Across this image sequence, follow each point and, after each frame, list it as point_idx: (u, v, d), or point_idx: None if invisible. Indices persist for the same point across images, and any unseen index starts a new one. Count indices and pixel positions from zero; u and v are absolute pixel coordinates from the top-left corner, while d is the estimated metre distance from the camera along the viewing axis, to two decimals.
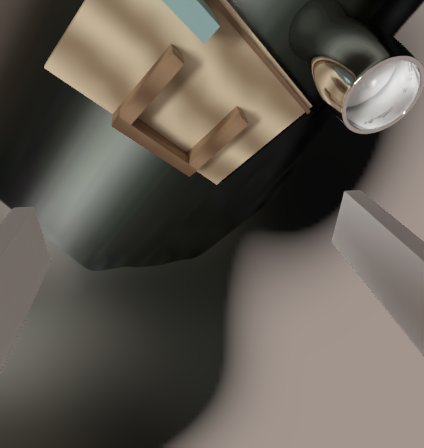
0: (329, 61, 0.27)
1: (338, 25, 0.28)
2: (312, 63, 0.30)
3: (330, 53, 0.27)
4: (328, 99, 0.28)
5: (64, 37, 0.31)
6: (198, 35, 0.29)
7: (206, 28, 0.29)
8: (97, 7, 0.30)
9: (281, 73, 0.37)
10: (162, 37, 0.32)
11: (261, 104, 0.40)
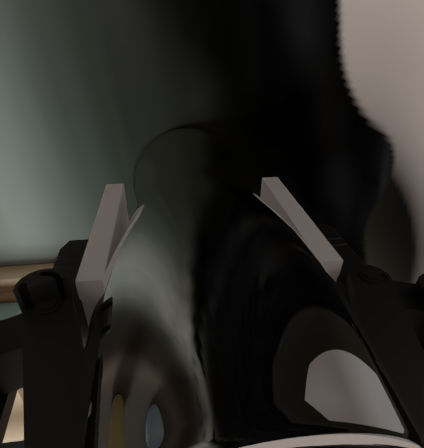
0: None
1: None
2: None
3: None
4: None
5: None
6: None
7: None
8: None
9: None
10: None
11: None
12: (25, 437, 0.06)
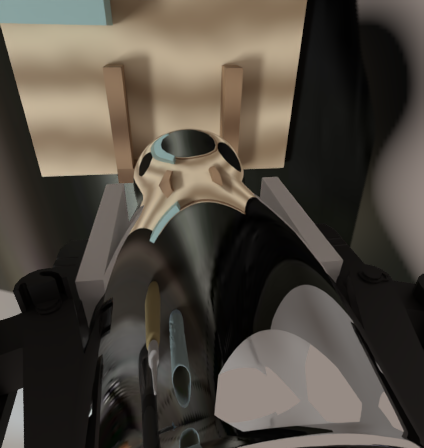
0: None
1: None
2: None
3: None
4: None
5: (32, 138, 0.31)
6: (93, 22, 0.24)
7: (92, 7, 0.23)
8: (30, 91, 0.29)
9: None
10: (95, 66, 0.29)
11: (246, 38, 0.30)
12: (25, 437, 0.06)
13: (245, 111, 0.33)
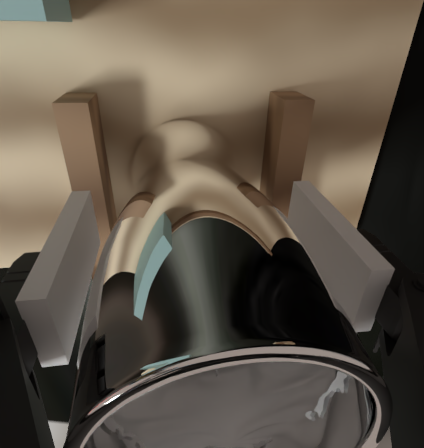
0: None
1: None
2: None
3: None
4: (168, 418, 0.10)
5: None
6: (16, 14, 0.11)
7: None
8: None
9: None
10: (44, 96, 0.16)
11: (316, 45, 0.17)
12: None
13: None
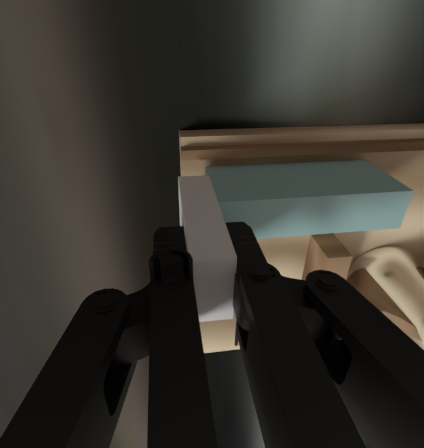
0: None
1: None
2: None
3: None
4: None
5: None
6: (383, 226, 0.15)
7: (390, 209, 0.15)
8: None
9: None
10: (295, 237, 0.20)
11: None
12: (149, 392, 0.06)
13: None
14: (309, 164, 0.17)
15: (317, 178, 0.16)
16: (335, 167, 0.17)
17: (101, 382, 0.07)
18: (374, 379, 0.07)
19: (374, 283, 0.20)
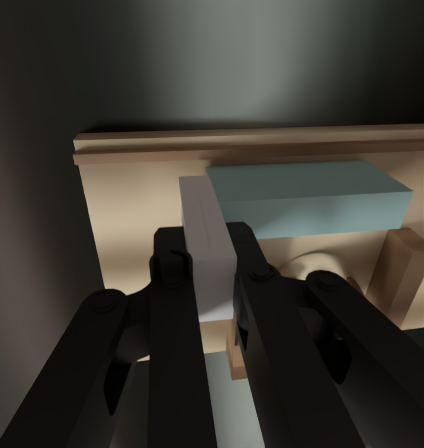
0: None
1: None
2: None
3: None
4: None
5: None
6: (383, 226, 0.15)
7: (390, 210, 0.15)
8: (120, 278, 0.20)
9: None
10: None
11: None
12: (149, 392, 0.06)
13: None
14: (309, 164, 0.17)
15: (317, 179, 0.16)
16: (335, 168, 0.17)
17: (101, 382, 0.07)
18: (374, 379, 0.07)
19: None
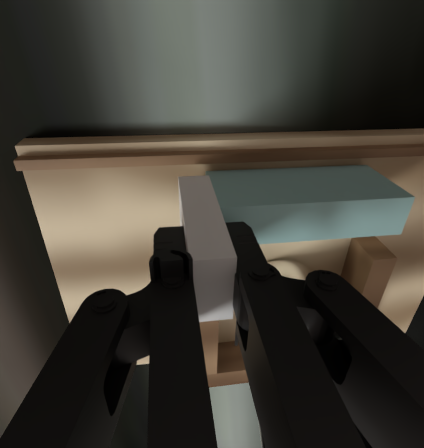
0: None
1: None
2: None
3: None
4: None
5: None
6: (384, 232, 0.15)
7: (392, 216, 0.15)
8: (76, 285, 0.20)
9: (394, 141, 0.18)
10: None
11: None
12: (149, 392, 0.06)
13: None
14: (310, 169, 0.17)
15: (319, 184, 0.16)
16: (336, 172, 0.17)
17: (101, 382, 0.07)
18: (374, 379, 0.07)
19: None
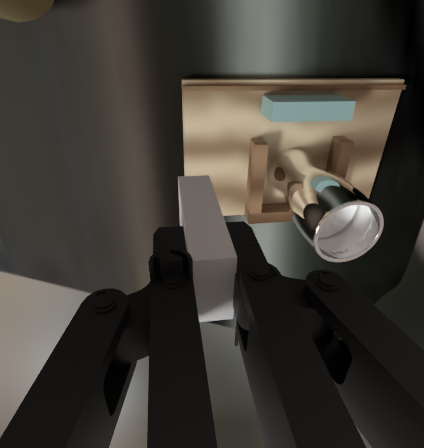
0: (296, 224, 0.33)
1: (290, 188, 0.35)
2: None
3: (293, 218, 0.33)
4: None
5: None
6: (344, 119, 0.35)
7: (346, 110, 0.34)
8: (193, 158, 0.39)
9: (351, 83, 0.37)
10: (242, 140, 0.39)
11: (353, 118, 0.39)
12: (149, 392, 0.06)
13: None
14: (311, 95, 0.37)
15: (315, 98, 0.35)
16: (323, 95, 0.36)
17: (101, 382, 0.07)
18: (374, 379, 0.07)
19: (284, 164, 0.39)
